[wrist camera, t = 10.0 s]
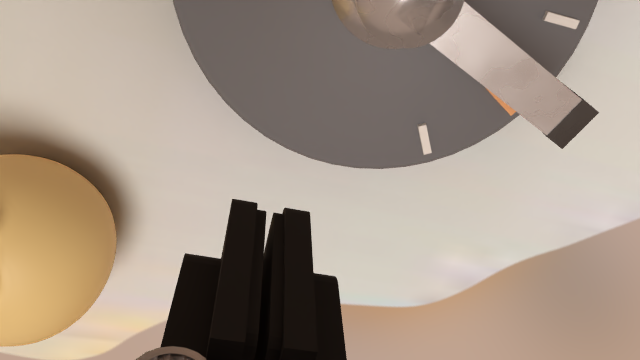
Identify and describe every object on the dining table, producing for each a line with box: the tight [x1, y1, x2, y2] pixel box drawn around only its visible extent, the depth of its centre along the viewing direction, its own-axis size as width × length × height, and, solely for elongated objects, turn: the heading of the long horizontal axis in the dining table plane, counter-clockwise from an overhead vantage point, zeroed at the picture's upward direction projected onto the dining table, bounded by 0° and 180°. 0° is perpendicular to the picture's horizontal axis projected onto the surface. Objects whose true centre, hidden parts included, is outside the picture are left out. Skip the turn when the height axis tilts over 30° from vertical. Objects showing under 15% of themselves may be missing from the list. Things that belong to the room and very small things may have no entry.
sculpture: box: [0, 154, 116, 346], centre depth 35 cm, size 12×12×11 cm
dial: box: [332, 0, 599, 149], centre depth 30 cm, size 15×7×6 cm, turn 53°
